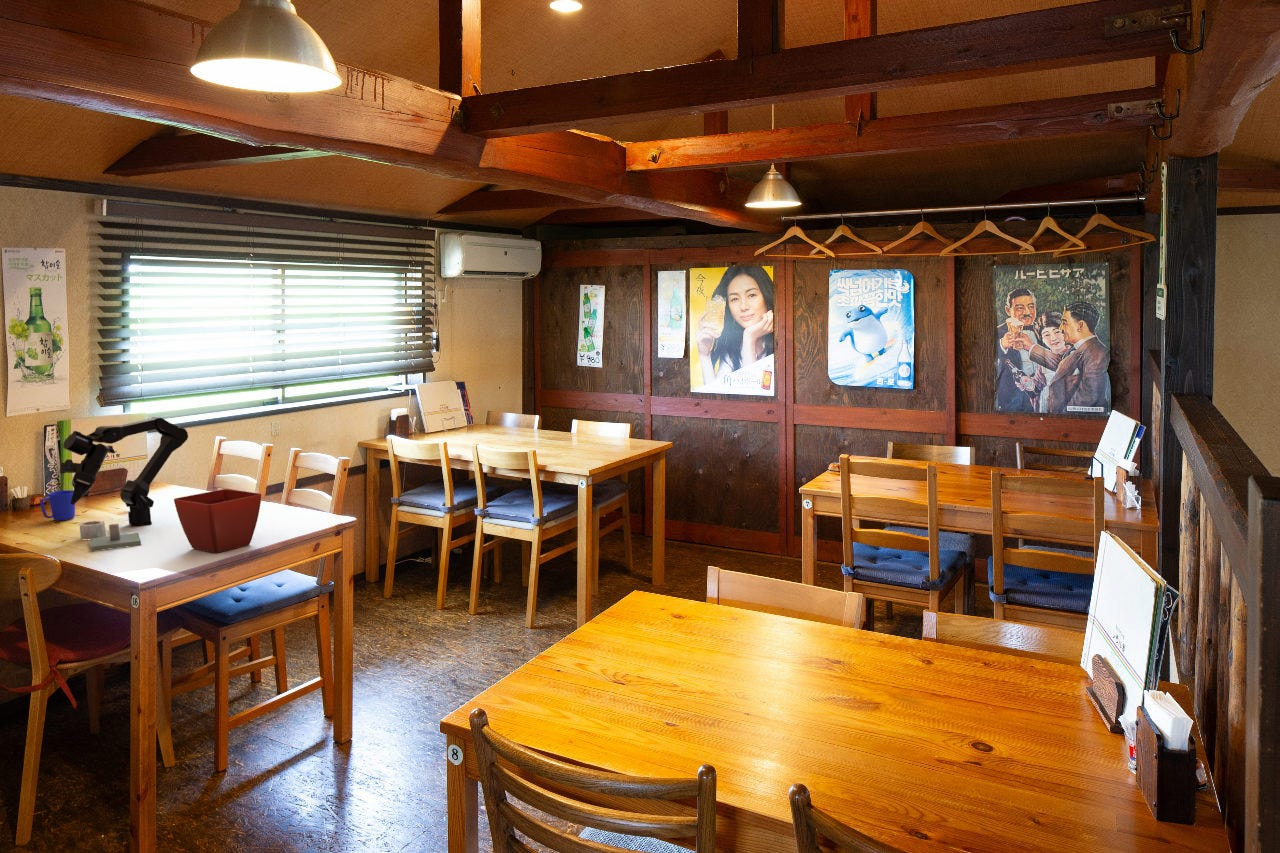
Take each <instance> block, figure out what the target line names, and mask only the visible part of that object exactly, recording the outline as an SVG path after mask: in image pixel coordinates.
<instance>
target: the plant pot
mask: <svg viewBox="0 0 1280 853" xmlns="http://www.w3.org/2000/svg"><path fill="white" fill-rule="evenodd" d="M173 502H174V507H175V509H176V512H177V517H178V518H179V522H180V525H181V527H182V530H183V532H184V535H185V537H186V539H187V541H188V543H189V545H190V546H191V548H192V549H194V550H199V551H203V552H208V553H212V554H217V553H218V554H219V553H222V552H226V551H230V550H234V549H239V548H242V546H243V547H247V546H249V545H250V544H251V542H252V539H253V536H254V533H255V530H256V526H257V523H258V519H259V514H260V509H261V502H262V493H257V492H252V491H245V490H238V489H237V490H236V489H230V488H225V489H219V490H218V489H217V490H211V491H207V492H202V493H197V494H192V495H186V496H180V497H175V498H173ZM246 545H247V546H246Z"/></svg>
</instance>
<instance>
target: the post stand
mask: <svg viewBox="0 0 1280 853" xmlns="http://www.w3.org/2000/svg"><path fill="white" fill-rule="evenodd" d="M108 529H109V536H106V537H100V538H92V539H90V540H89V542H90V543H89V544H90V551H91V552H95V551H94V550H99V551H103V550H102V549H106V550H109V549H108V548H114V549H118V548H117V547H122V548H127V547H126V546H130V547H135V545H137V546H142V541H141V538H140V535H139V534H140V533H139V532H135V533H128V534H127V533H126V534H120V533H121V532H120V524H119V523H111V524H109V525H108Z"/></svg>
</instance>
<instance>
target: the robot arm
mask: <svg viewBox="0 0 1280 853" xmlns="http://www.w3.org/2000/svg"><path fill="white" fill-rule="evenodd" d="M153 430H155V431H156V432H157V433H159V434H160V435H161V437H160V439H159V440H160V442H159V445H158V447H157V449H156V451H155V452H154V453H153V454H152V456H151V457H150V459H149V460H148V462H147V463H146V464H145V466H144V468H143V469H142V470H141V471H140V473H139V475H138V476H137V477H136V478H135V479H133V480H131V479H128V480H127V481H126V482H125V484H124V485H123V487H121V488H120V490H121V492H120V494H119V496H120V500H121V501H122V502H123V503H124V504H125V507H127V508H129V511H127V515H128V516H127V517H128V524H129V525H130V527H137V526H146V525H152V524H153V522H152V518H151V517H152V516H151V508H153V506H154V503H155V501H154V499H152V498H150V497H149V496H148V495H149V493H150V488H151V487H150V486H151V483H152V482H153V481H154V480H155V478H156V476H157V475H158V473H159V472H160V471H161V469H162V468H163V467H164V465H165V463H167V460H168V459H169V458H170V457H171V455H172V454H173V452H175V451H176V450H177V449H179V448H180V447H182V446H183V445H184V444H185V442H187V440H188V439H189V434H188V431H187V430H186V428H183V427H179V426H177V425H175V424H173V423H171V422H169V421H168V420H166V419H164V418H163V417H158V416H153V417H151V418H146V419H143V420H138V421H134V422H130V423H129V422H128V423H125V424H121V425H120V424H119V425H100V426H97V427H96V428H95V430H94V431H93V432H91V433H88V434H87V435H86V434H83V433H81V432H80V431H77V430H74V431H72V433H71V434H70V435H68V436H67V437H66V438H65V439H64V442H63V444H62V445H63V449H64V450H67V451H69V452H71V453H73V454H77V455H79V456H83V455H85V456H84V457H83V459H82V460H81V461H80V462H73V460H72V459H65V461H63V462H60V463H59V474H66V473H67V474H74V475H73V477H72V480H71V485H72V487H73V490H72V491H73V495H72V499H71V503H70V504H72V505H74V504H75V505H76V503H78V501H80V500H81V499H82V498H83V497H84V496H85V495H86V494H87V493H88V492H89V491H91V489H92V487H93V486H94V484H95V481H96V477H97V476H98V473H99V471H100V470H101V468H102V465H103V464H104V462H105V459H106V457H107V455H108V453H109V454H113V455H114V454H116V451H115V449H114V447H113V445H111V444H115V443H117V442H119V441H122V440H123V439H125V438H126V437H128V436H133V435H136V434H142V433H145V432H150V431H153ZM105 444H110V445H105Z"/></svg>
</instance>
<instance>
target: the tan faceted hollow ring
mask: <svg viewBox="0 0 1280 853" xmlns="http://www.w3.org/2000/svg"><path fill="white" fill-rule="evenodd" d="M105 525H106V524H105V520H89V521H84V522H83V521H82V522H81V523H79V533H80V540H81V539H92V538H100V537H105V536H106V526H105ZM106 537H107V536H106Z"/></svg>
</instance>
